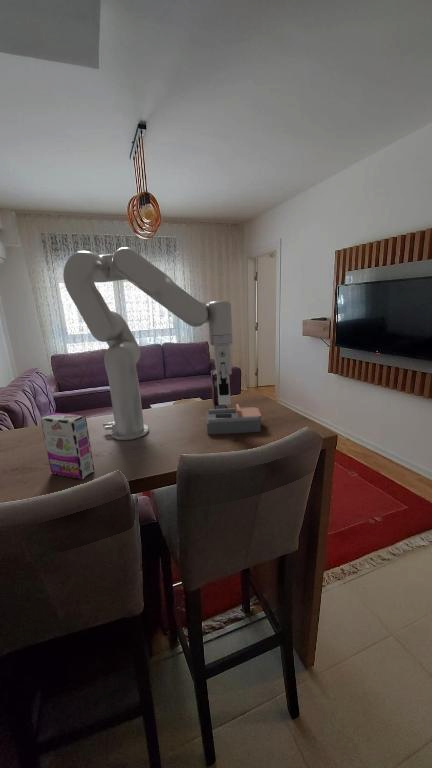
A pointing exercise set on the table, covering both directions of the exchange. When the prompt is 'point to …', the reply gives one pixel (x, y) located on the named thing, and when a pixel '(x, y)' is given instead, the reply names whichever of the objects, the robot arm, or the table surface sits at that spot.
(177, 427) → the table surface
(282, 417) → the table surface
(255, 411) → the shutter
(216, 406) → the supplement box
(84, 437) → the candy bar box
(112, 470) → the table surface
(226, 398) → the plug
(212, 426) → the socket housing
